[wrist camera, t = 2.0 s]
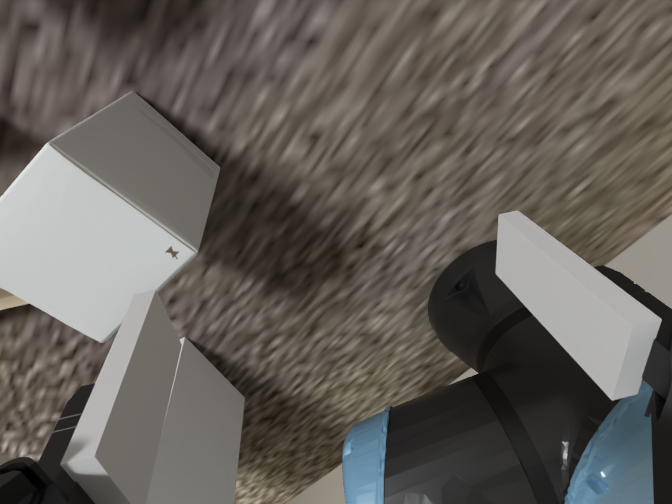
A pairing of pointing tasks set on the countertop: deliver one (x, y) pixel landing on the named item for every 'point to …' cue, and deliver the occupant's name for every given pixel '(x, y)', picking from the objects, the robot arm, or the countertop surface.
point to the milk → (198, 436)
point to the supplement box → (104, 216)
